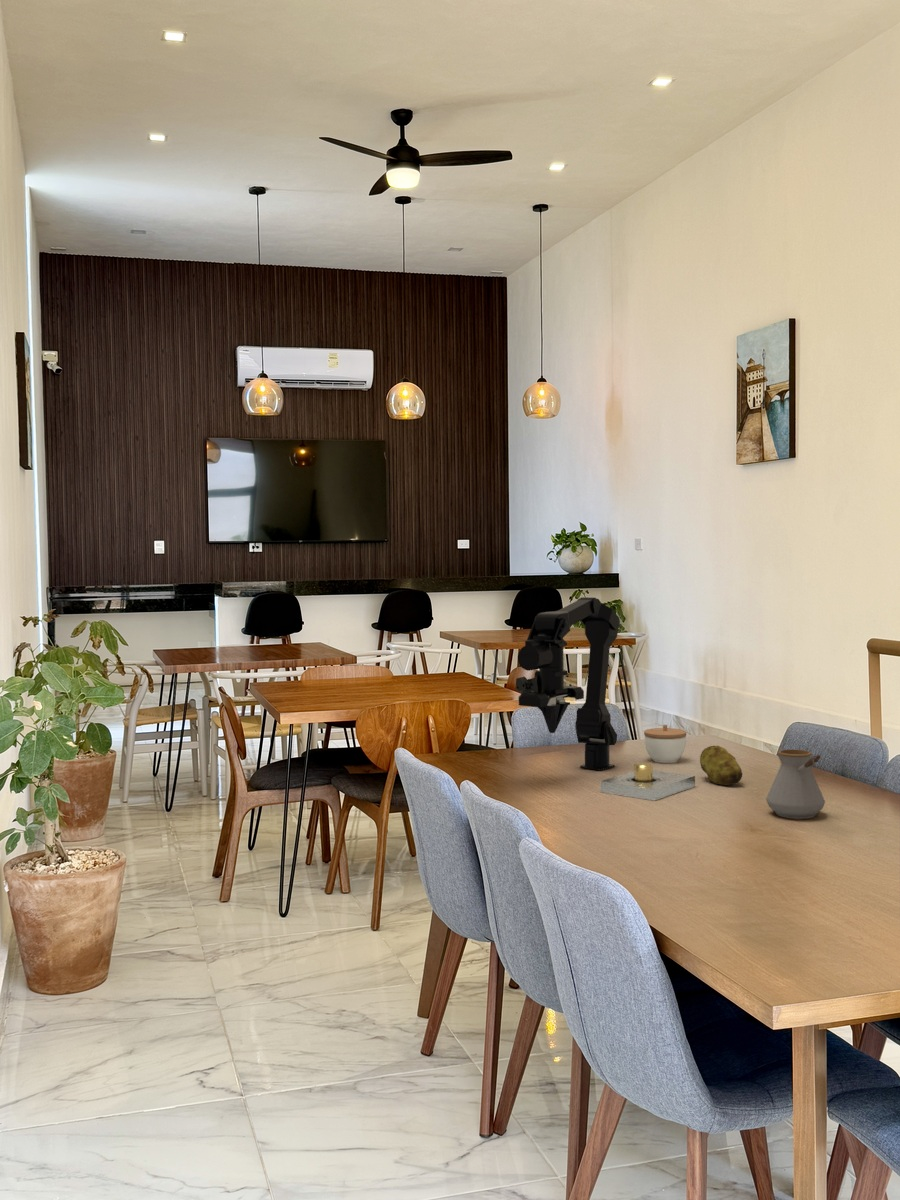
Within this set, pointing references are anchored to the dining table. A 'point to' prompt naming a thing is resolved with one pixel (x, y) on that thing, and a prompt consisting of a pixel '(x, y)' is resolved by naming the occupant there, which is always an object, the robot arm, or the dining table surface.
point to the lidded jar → (665, 744)
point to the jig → (648, 785)
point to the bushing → (643, 772)
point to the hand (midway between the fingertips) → (552, 732)
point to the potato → (720, 766)
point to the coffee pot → (796, 786)
